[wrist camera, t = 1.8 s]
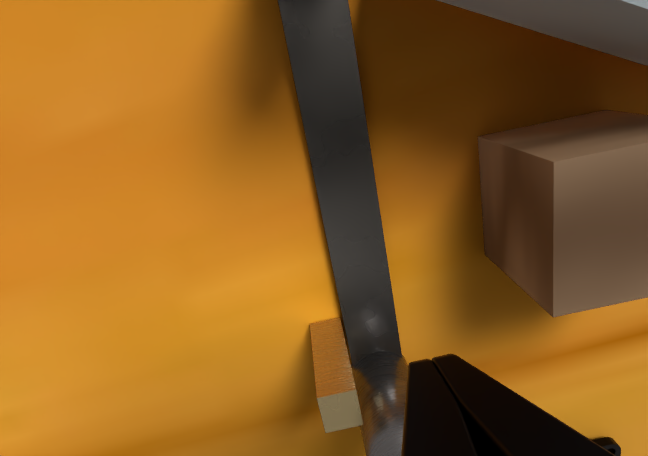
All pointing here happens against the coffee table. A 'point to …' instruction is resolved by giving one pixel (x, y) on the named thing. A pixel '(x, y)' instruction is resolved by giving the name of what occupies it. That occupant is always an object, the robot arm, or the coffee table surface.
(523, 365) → the coffee table surface
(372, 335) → the dark grey long piece
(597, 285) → the walnut block
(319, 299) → the coffee table surface
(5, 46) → the coffee table surface
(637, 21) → the grey block
